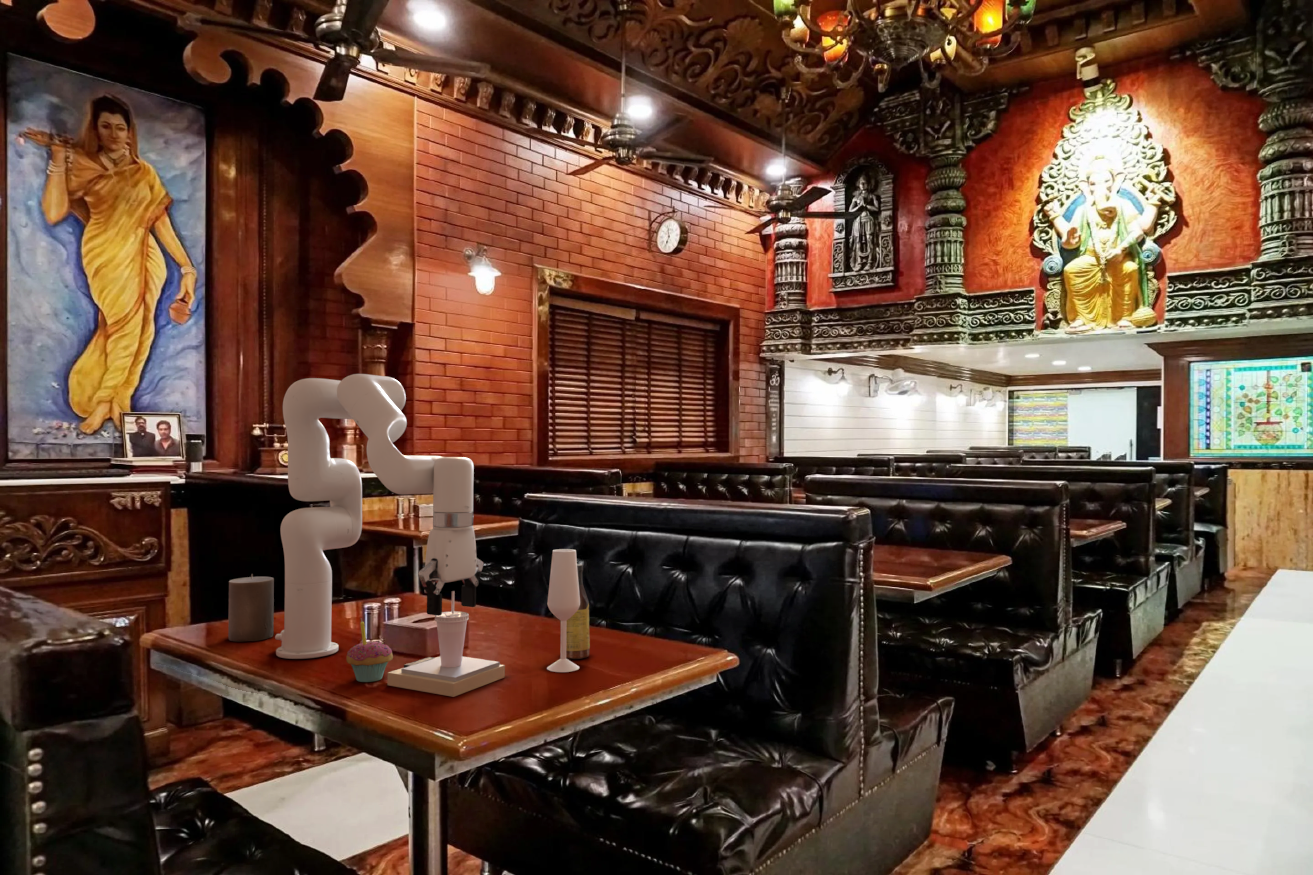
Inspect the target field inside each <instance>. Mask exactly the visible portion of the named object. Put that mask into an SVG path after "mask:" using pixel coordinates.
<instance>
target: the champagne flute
mask: <svg viewBox="0 0 1313 875" xmlns="http://www.w3.org/2000/svg"><path fill="white" fill-rule="evenodd" d="M550 563H551V564H550V574H549V585H548V592H547V593H548V594H547V603H546V604H547V607H548V610H549V611H550V613H551V614H553V616H554V617H555V618H556V619H557V620H559V621H560V620H561V624H560V656H559V659H557V660H556V661H555V662H552V663H551V664H550V665H548V666H547V667H546V670H547V671H550V672H555V673H569V672H575V671H578V670H579V669H580V666H579V665H577V664H576V663H575V662H573V661H571V660H570V659H566V623H567V620H568V619H569V618H571V617H572V616H573V615H574V614H575V613H576V611H577V610H578V608H579V606H580V595H579V583H578V571H577V564H578V560H577V550H576V549H573V548H572V549H570V548H559V549H553V550H552V554H551V562H550Z"/></svg>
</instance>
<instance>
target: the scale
mask: <svg viewBox="0 0 1313 875" xmlns="http://www.w3.org/2000/svg"><path fill="white" fill-rule="evenodd" d="M505 677H506V665H505V664H501V663H500V661H495V660H490V659H483V658H476V657H470V656H463V655H462V662H461V665H460V666H458V667H450V668H448V667H442V666H441V658H440V655H439V656H437V657H431V656H428V657H425V658H421V659H419V660H414V661H412V662H408V663H406V664H403V667H401V668H398V669H395V670H391V671H388V672H387V684H386V686H390V687H396V688H401V689H406V690H412V691H417V692H423V693H428V694H436V695H441V696H446V697H451V698H454V697H457V696H461V695H462V694H465V693H468V692H471V691H473V690H475V689H478V688H480V687H483V686H486V685H488V684H491V683H493V682H497V681H499V680H501V679H504V678H505Z"/></svg>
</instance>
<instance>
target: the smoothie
mask: <svg viewBox="0 0 1313 875" xmlns="http://www.w3.org/2000/svg"><path fill="white" fill-rule="evenodd" d="M455 594H456V593H455V590H452V591H451V611H442V614H441V615H439V616H437V615H434V622H436V630H437V641H438V650H439V656H440V658H441V666H442V667H448V668H450V667H458V666H460V665H461V662H462V656H463V653H464V647H465V646H464V645H465V639H466V631H467V624H468V623H467V622H468V620H469V619H470V618H469V613H468V612H466V611H457V610H455V597H456V596H455Z"/></svg>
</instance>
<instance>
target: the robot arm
mask: <svg viewBox="0 0 1313 875" xmlns="http://www.w3.org/2000/svg"><path fill="white" fill-rule="evenodd" d="M406 396H407V395H406V390H405V389H404V386H403V385H402V383H401V382H400V381H398V380H397V379H395V377H391V376H385V375H377V374H368V373H352V374H350V375H347V376H346V377H343V378H342V379H341V380H339V379H329V378H322V377H321V378H319V377H318V378H317V377H309V378H301V379H299V380H297V381H294V382H292V384H290V386H289V387H288V388H287V390H286V391H285V394H284V397H283V401H282V417H283V421H284V426H285V430H286V436H287V485H288V486H287V487H288V491H289V494H290V496H291V497H292V498H293V499H294V500H296V501H301V502H324V501H325V502H326V501H329V506H314V507H301V508H298V509H297V508H296V509H295V510H292V511H290V512H289V513H287V514H286V515H285V516H284V517H283V519H282V521H281V523H280V530H279V531H280V540H281V544H282V548H283V557H284V615H283V616H284V618H283V619H284V621H283V629H282V630H281V631H280V633H276V634H275V636H274V638H275V640H276V641H281V646H279V647H277V648H276V649H275V655H276V657H278V658H282V659H287V660H288V659H289V660H305V659H307V660H308V659H315V658H321V657H327V656H330V655H333V654H336V653H337V652H338V651H339V644H338V643H336V642H333V641H332V610H333V608H332V602H333V570H332V566H331V563H330V561H329V560H328V558H327V557H326V555H325V552H324V551H327V550H335V549H342V548H348V547H351V546H353V545H355V544H356V543H357V542H358V541H359V539H360V537H361V535H362V530H363V481H362V476H361V473H360V470H359V467H358V466H357V465H356V464H355V463H354V462H353V461H352V460H349V459H347V458H343V457H342V458H341V457H331V452H330V446H331V444H330V443H331V442H330V437H329V434H328V432H327V430H326V428H325V426H324V425H323V424H322V422H321V421H320V420H319V419H321V418H322V419H336V420H338V419H339V420H352V421H354V423H355V424H356V425H357V426H358V427H359V429H360V430H361V431H362V432H363V434H364V435H365V437H367V443H366V456H367V462H368V466H369V467H370V469H371V471H372V472H373V473H374V475H375V476H376V478H377V479H378V480H379V481H380V482H381V484H382V485H384V487H385V488H386V489H387V490H389V491H390V492H392V493H394V494H397V495H401V496H402V495H421V494H422V495H427V494H428V495H429V494H430V495H431V494H432V495H433V496H432V528H431V529H430V530H429V532H428V533H429V534H428V537H427V542H426V552H425V563H424V567H422V568H421V569H420V570H419V571H418V573H417V576H418V578H419V581H420V585H421V587H422V588H423V592H424V594H426V614H427V615H428V616H429V615H430V616H435V615H437V616H439V615H441V614H442V612H443V593H440V592H441V591H442V589H443V587H444V585H445V584H446V583H452V582H457V581H458V582H459V581H462V582H461V583H463V585H461V594H460V595H461V598H460V599H461V600H460V602H461V603H460V604H461V605H460V606H462V607H466V608H475V607H476V606H477V587H478V586H479V580H480V578H481V576H482V570H483V568H484V565H485V563H484V561H482V560H481V559H479V558H478V557H477V543H476V534H475V528H474V481H475V480H474V479H475V477H474V474H475V472H474V469H475V466H474V461H473V460H472V459H471V458H468V457H464V456H463V457H462V456H441V455H419V454H418V455H411V454H410V455H409V454H408V455H404V454H402V452H401V451H400V450H399V449H398V447H396V445H395V444H394V443H395V442H396V441H397V440H398V439H400V437H402V436H403V434H404V433H405V431H406V429H407V425H408V422H407V417H406V415H405V414H404V413H403V412H402V410H403V409H404V407H405V405H406V400H407V397H406Z"/></svg>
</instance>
